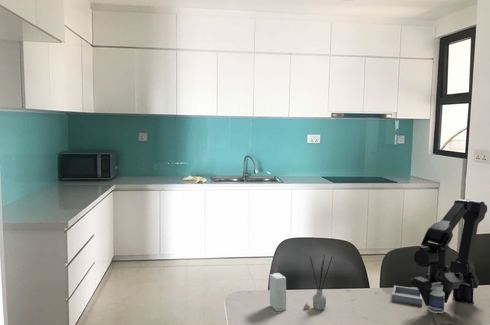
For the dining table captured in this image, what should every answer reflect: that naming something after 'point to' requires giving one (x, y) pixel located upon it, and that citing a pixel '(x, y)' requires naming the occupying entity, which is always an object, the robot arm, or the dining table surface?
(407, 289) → the tray
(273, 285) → the skincare box
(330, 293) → the dining table surface
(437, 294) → the pill bottle
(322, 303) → the reed diffuser
